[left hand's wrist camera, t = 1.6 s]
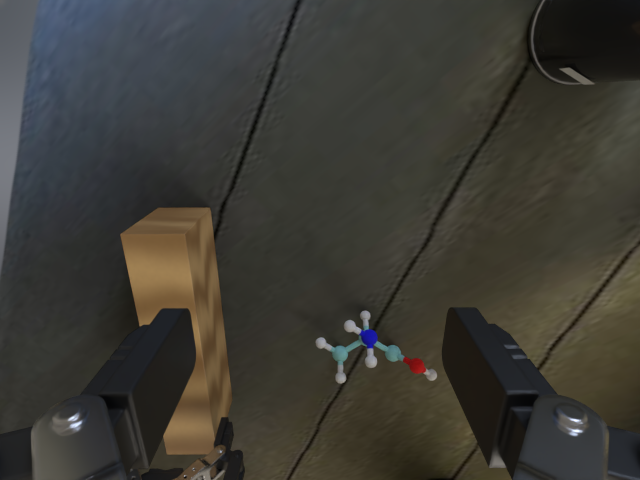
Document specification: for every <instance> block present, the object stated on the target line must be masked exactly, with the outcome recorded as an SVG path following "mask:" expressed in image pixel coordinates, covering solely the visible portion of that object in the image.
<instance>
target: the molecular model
mask: <svg viewBox="0 0 640 480" xmlns="http://www.w3.org/2000/svg"><path fill="white" fill-rule="evenodd" d="M360 318H361V319H362V320H363V330H361V329H360V328H358V327H356V325H355V323H354V321H352V320H348V321H346V322H345V324H344V329H345V330H346V331H347V332H355V333H357V334H358V335H359V340H357V341H355V342H354V343H352V344H350V345H349V346H347V347H346V348H345V347H343V346H337V347H335V348H334V347H332V346H331V345H329V344H327V343H326V340H325V339H324V338H318V339H317V340H316V346H317V347H318V348H325V349H327V350H329V351H330V352H332V356H333V358H334V360H335V361H337V362H338V373H337V374H336V376H335V379H336V381H337V382H338V383H344V382H345V380H346V375H345V374H344V373H343V361H345V360H346V359H347V357H348V352H349V351H351V350H353V349H354V348H356V347H358V346H359V345H361V344H362V345H364V346H367V355H368V356H367V357H366V359H365V364H366V366H367V367H369V368H373V367H375V366H376V364H377V359H376V358H375V356H374V355H373V345H374V346H376V347H378V348H380V349H381V350H383V351H385V356H386V358H387V359H388V360H390V361H397V360H401V361H403V362H404V363H406V364H408V365H409V367H410V370H411V371H412V372H413V373H416V374H418V373H421V372H422V373H424V374H426V377H427V379H429V380H435V379H436V378H437V373H436V371H435V370H433V369H426V368H425V367H424V363H423V361H422V360H420V359H418V358H414V359H412V360H411V359H409V358H407V357H405V356H403V355H401V351H400V349H399V348H398V347H397V346H395V345H390V346H388V347H387V346H385V345H383V344H382V343H380V342H378V341H377V338H378V337H377V334H376V332H375V331H373V330H371V329H369V325H368V320H369V319H370V313H369V312H368V311H362V312H361V314H360Z"/></svg>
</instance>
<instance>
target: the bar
mask: <svg viewBox="0 0 640 480" xmlns="http://www.w3.org/2000/svg"><path fill="white" fill-rule="evenodd" d="M120 236H121V240H122V245H123V250H124V254H125V259H126V264H127V268H128V273H129V278H130V283H131V287H132V292H133V297H134V301H135V306H136V311H137V315H138V320H139V325H140V326H142V325H149V324H150V323H151V322H152V320H153V319H154V318H155V316H156V315H157V314H158V312H159V311H160V310H161V309H162V308H188V309H189V311H190V313H191V319H192V326H193V332H194V339H195V346H196V362H195V367H194V370H193V373H192V375H191V377H190V379H189V381H188V383H187V386H186V388H185V390H184V392H183V394H182V396H181V399H180V401H179V403H178V405H177V407H176V409H175V412H174V414H173V416H172V418H171V420H170V422H169V425H168V427H167V429H166V431H165V433H164V436H163V438H164V442H165V447H166V452H167V454H209V453H210V452H211V451H212V450H213V449H214V445H213V444H214V441H215V437H216V434H217V430H218V427H219V423H220V420H221V417H227V416H228V413H229V409H230V405H231V402H232V392H231V383H230V374H229V366H228V357H227V348H226V340H225V331H224V322H223V313H222V305H221V296H220V287H219V279H218V270H217V261H216V252H215V244H214V235H213V226H212V218H211V209H210V208H157V209H156V210H154V211H153V212H151V213H150V214H149V215H147V216H146V217H144V218H143V219H141V220H140V221H139V222H137V223H136V224H134V225H133V226H131V227H130V228H129V229H127V230H126V231H124V232H123V233H121V234H120Z"/></svg>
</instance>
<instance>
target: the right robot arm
mask: <svg viewBox="0 0 640 480" xmlns="http://www.w3.org/2000/svg"><path fill="white" fill-rule="evenodd" d="M233 436H234V433H233V425H232V422H229V419H228V417H221V420H220V423H219V427H218V430H217V434H216V437H215V441H214V444H213V445H214V449H213V450H212V451H211V452H210V453H209V454H208V455H206V456H205V457H204V458H203V459H201V458H199V459H197V460H196V461H195V462H194V463H193V464H192V465H190V466H189V467H188V468H187V469H186V470H185V471H183V468H174V469H170V470H161V469H150V470H149V472H147V473H144V474H142V475H140V472H139V469H131V470H130V472H129V474H128V476H127V480H196V479H197V480H217V479H218V478H219V477H220V476H221V475H222V474H223V473H224V472H225V471H226V472H225V476H224V479H223V480H243V477H244V473H245V468H244V464H243V453H242V451H240V450H235V451H230V449H231V445H232V441H233ZM440 480H442V479H440Z"/></svg>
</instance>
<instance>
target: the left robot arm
mask: <svg viewBox="0 0 640 480" xmlns="http://www.w3.org/2000/svg"><path fill="white" fill-rule="evenodd" d="M528 47H529V53H530V57H531V59H532V62H533V64H534V66H535V67H536V69H537V70H538V71H539V73H540V74H542V75H543V76H544V77H545V78H547V79H548V80H550V81H552V82H555V83H558V84H564V85H574V84H584V85H585V84H594V83H593V82H616V81H636V80H640V0H540V2H539V3H538V5H537V7H536V9H535V11H534V14H533V16H532V19H531V22H530V27H529V33H528ZM442 361H443V366H444V369H445V372H446V374H447V376H448V378H449V380H450V383H451V385H452V387H453V389H454V391H455V394H456V396H457V398H458V400H459V402H460V405H461V407H462V409H463V411H464V413H465V416H466V418H467V420H468V422H469V424H470V427H471V429H472V431H473V433H474V435H475V438H476V440H477V442H478V444H479V446H480V449H481V451H482V453H483V455H484V457H485V460H486V462H487V464H488V466H489V468H507V470H508V472H509V474H510V476H511V478H512V480H640V434H639V433H635V432H631V431H626V430H622V429H618V428H614V427H610V426H607V425H606V424H605V422H604V421H603V420H602V418H601V417H600V416H599V415H598V414H597V413H596V412H594V411H593V410H592V409H591V408H589V407H587V406H586V405H584V404H582V403H581V402H579V401H576V400H574V399H572V398H569V397H565V396H561V395H558V394H557V393H556V392H555V391H554V389H553V388H552V387H551V386H550V384H549V383H548V382H547V381H546V379H545V378H544V377H543V376H542V374H541V373H540V372H539V370H538V369H537V368H536V367H535V365H534V364H533V363H532V362H531V360H530V359H527V355H526V354H525V353H524V352H523V350H522V349H520V348H519V345H518V344H517V343H516V342H515V340H514V339H513V338H512V337H511V335H510V334H509V333H507V332H506V331H504V330H503V329H501V328H500V327H498V326H497V325H496V324H488V323H487V321H486V320H485V319H484V317H483V316H482V315H481V313H480V312H479V311H478V309H477V308H449V310H448V313H447V319H446V326H445V332H444V339H443V346H442ZM195 362H196V346H195V339H194V332H193V326H192V319H191V313H190V311H189V309H188V308H162V309H161V310H160V311H159V312H158V314H157V315H156V316H155V318H154V319H153V320H152V322H151V323H150V324H149V325H142V326H140V327H139V328H137V329H136V330H135V331H133V332H132V333H130V334H129V335H128V336H127V337H126V338H125V339H124V341H123V342H122V343H121V344H120V346H119V347H118V350H116V351H115V352H114V353H113V354H112V356H111V357H110V360H108V361H107V362H106V363H105V364H104V366H103V367H102V368H101V369H100V371H99V372H98V373H97V374H96V376H95V377H94V378H93V379H92V380H91V382H90V383H89V384H88V385H87V387H86V388H85V389H84V390H83V392H82V393H81V394H80V395H79V396H75V397H71V398H68V399H66V400H64V401H61V402H59V403H58V404H56V405H54V406H53V407H51V408H49V409H48V410H47V411H46V412H44V413H43V414H42V415H41V416H40V417H39V418H38V420H37V421H36V422H35V424H34V425H33V426H32V427H28V428H25V429H20V430H16V431H12V432H8V433H4V434H0V480H127V476H128V474H129V472H130V470H131V469H148V468H149V466H150V464H151V462H152V459H153V457H154V455H155V453H156V451H157V449H158V446H159V444H160V442H161V440H162V438H163V436H164V433H165V431H166V429H167V427H168V425H169V422H170V420H171V418H172V416H173V414H174V412H175V409H176V407H177V405H178V403H179V401H180V399H181V396H182V394H183V392H184V390H185V388H186V386H187V383H188V381H189V379H190V377H191V375H192V373H193V370H194V367H195Z"/></svg>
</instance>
